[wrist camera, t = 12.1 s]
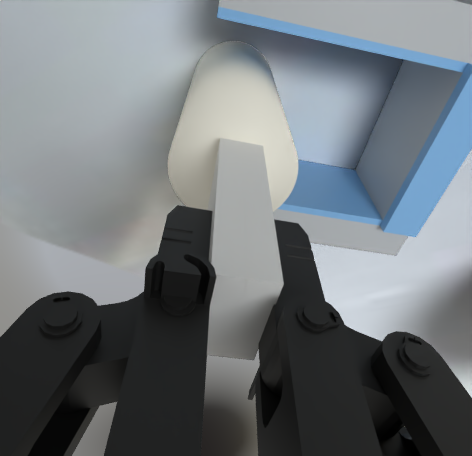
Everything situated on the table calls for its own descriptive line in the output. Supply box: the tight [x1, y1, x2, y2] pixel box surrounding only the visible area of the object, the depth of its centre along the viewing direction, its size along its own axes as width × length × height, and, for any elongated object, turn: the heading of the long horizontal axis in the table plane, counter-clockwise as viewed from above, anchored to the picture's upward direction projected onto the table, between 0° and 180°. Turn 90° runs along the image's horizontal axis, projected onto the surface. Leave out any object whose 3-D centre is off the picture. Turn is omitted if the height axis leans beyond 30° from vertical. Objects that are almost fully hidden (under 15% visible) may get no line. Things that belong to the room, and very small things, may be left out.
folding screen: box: [217, 0, 472, 256], centre depth 17 cm, size 24×13×7 cm, turn 169°
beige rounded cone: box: [167, 41, 298, 212], centre depth 18 cm, size 5×5×11 cm
